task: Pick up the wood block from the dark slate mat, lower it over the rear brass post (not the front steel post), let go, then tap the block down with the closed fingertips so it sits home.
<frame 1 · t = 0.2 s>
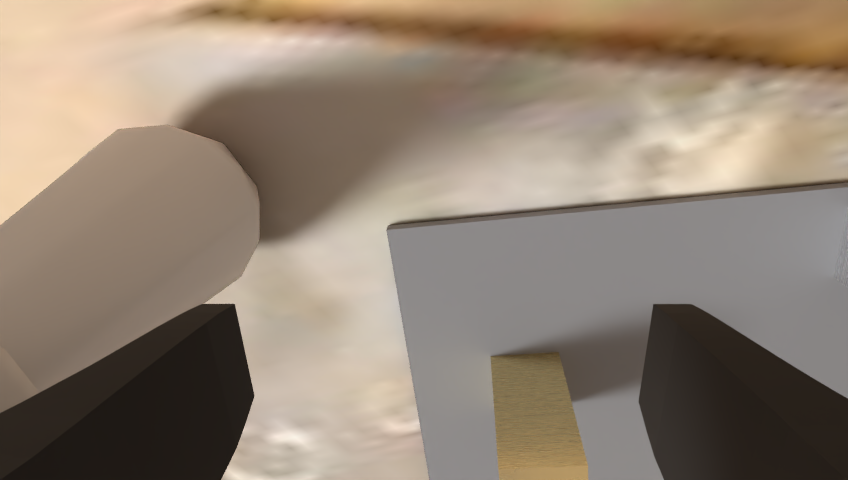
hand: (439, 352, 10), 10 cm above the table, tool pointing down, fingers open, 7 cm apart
salt shaker: (203, 189, 20), on the table
brass post: (525, 374, 22), resting on slate mat
slate mat: (677, 405, 22), on the table
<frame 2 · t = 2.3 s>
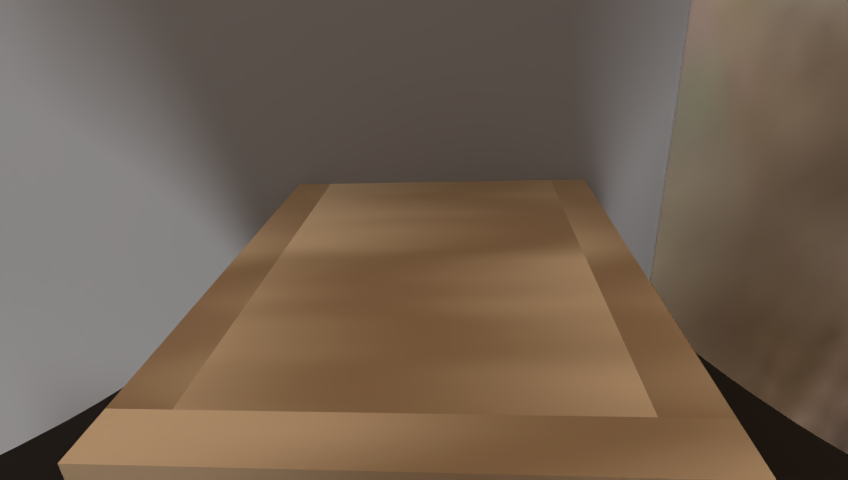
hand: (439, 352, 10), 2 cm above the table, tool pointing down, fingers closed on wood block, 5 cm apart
wood block: (442, 304, 11), resting on slate mat, touching gripper
slate mat: (244, 436, 13), on the table
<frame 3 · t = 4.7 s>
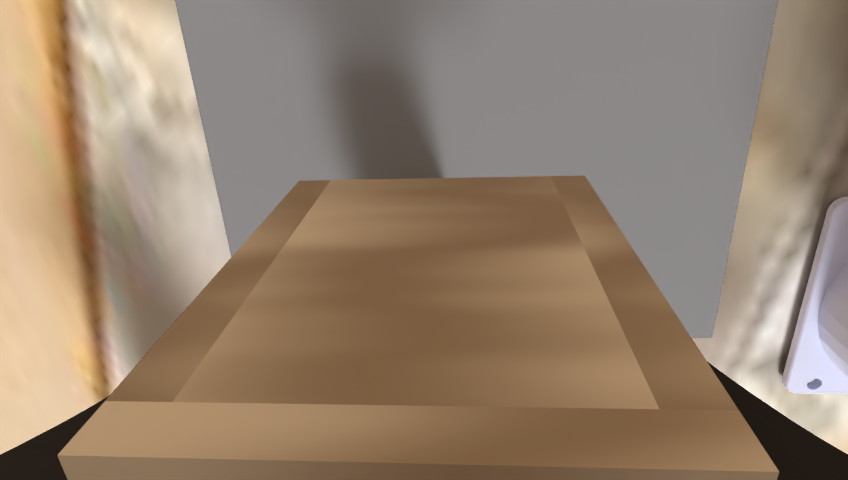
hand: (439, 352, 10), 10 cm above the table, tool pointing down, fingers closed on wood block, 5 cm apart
wood block: (442, 301, 11), point 9 cm above the table, touching gripper
slate mat: (466, 55, 17), on the table
when the fingers open (4 cm above the table, at t = 6.8 s): wood block drops 1 cm, resting on slate mat.
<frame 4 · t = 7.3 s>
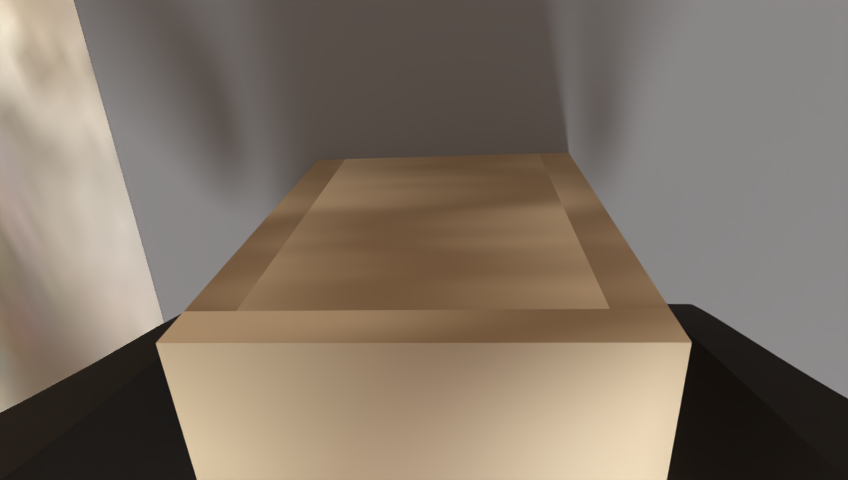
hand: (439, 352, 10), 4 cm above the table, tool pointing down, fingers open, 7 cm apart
wood block: (444, 268, 12), resting on slate mat
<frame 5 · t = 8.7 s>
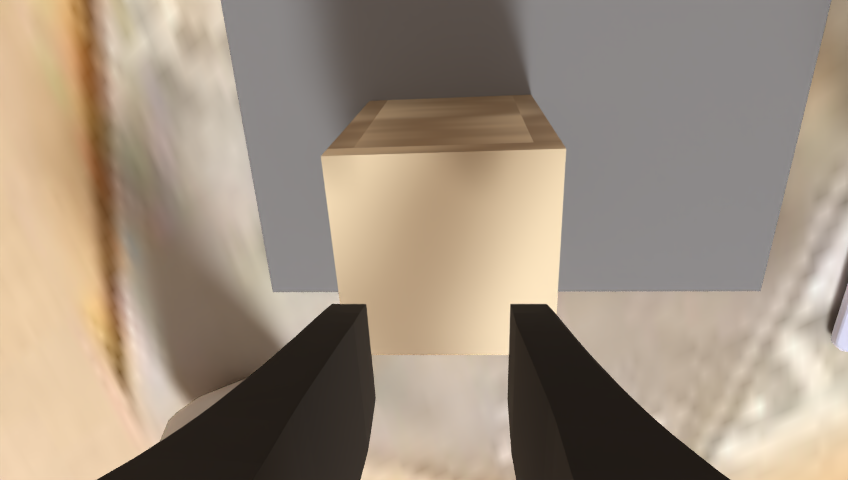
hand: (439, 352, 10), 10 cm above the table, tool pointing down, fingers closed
wood block: (451, 175, 19), resting on slate mat
salt shaker: (256, 411, 24), on the table
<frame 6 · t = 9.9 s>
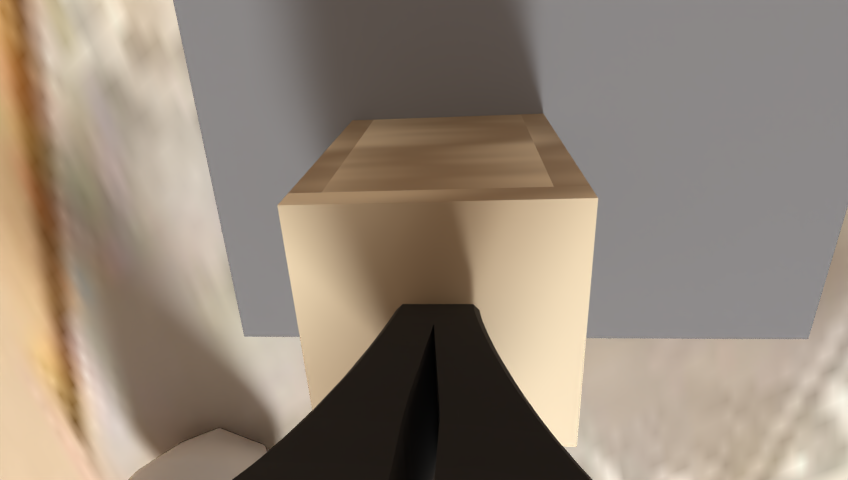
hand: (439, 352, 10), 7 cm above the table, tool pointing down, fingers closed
wood block: (449, 206, 16), resting on slate mat
salt shaker: (230, 464, 22), on the table
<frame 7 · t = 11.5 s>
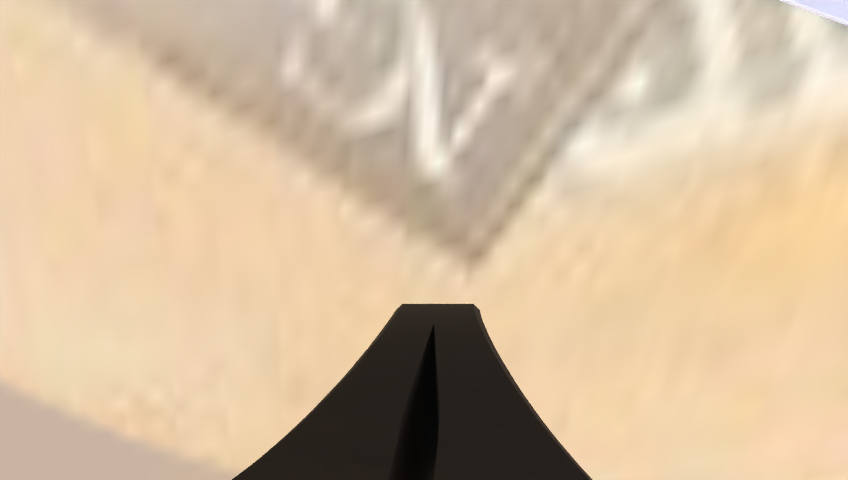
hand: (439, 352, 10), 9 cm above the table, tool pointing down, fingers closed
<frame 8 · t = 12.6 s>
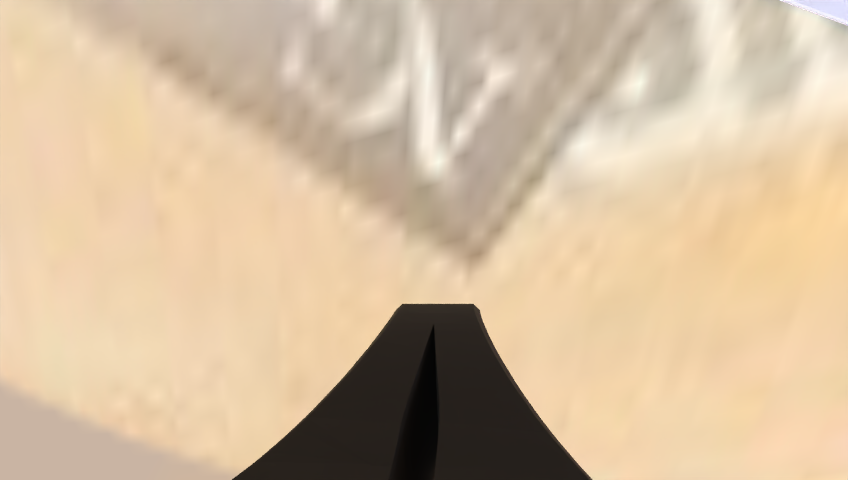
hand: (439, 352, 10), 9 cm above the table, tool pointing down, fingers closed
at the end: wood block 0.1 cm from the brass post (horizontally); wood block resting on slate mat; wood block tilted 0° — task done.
